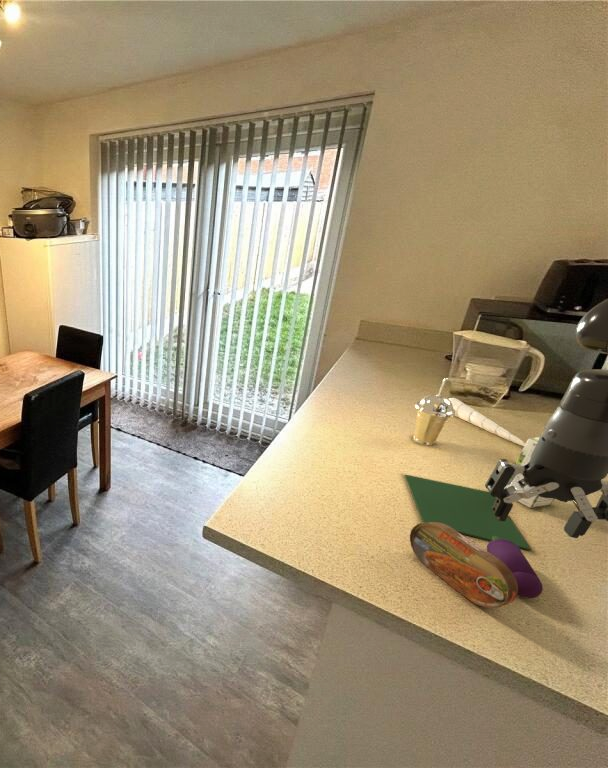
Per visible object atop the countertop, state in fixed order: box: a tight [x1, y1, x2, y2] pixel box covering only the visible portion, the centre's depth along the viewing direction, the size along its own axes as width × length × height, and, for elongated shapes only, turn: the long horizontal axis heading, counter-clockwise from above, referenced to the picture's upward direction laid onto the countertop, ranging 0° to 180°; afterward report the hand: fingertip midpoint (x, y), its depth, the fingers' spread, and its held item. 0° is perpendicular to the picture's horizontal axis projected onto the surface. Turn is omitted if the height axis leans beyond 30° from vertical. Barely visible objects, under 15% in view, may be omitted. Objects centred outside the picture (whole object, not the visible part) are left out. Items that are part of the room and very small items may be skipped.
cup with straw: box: [412, 377, 474, 446], centre depth 104 cm, size 8×9×20 cm
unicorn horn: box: [448, 397, 526, 447], centre depth 113 cm, size 5×24×5 cm, turn 4°
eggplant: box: [486, 536, 544, 599], centre depth 68 cm, size 4×13×4 cm, turn 154°
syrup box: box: [506, 436, 555, 509], centre depth 83 cm, size 6×6×14 cm
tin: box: [409, 522, 518, 609], centre depth 66 cm, size 15×3×8 cm, turn 13°
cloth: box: [404, 474, 531, 552], centre depth 83 cm, size 16×18×1 cm
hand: (533, 525), depth 64 cm, fingers open, 8 cm apart
